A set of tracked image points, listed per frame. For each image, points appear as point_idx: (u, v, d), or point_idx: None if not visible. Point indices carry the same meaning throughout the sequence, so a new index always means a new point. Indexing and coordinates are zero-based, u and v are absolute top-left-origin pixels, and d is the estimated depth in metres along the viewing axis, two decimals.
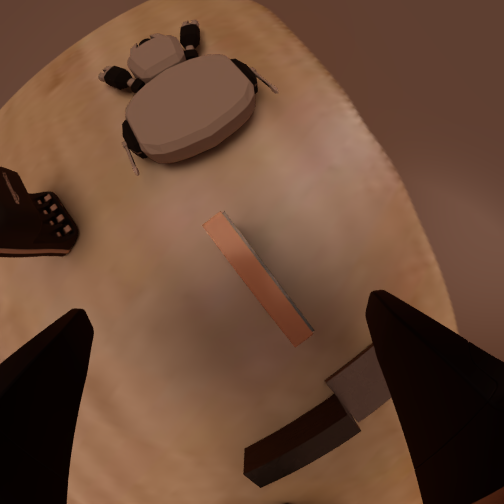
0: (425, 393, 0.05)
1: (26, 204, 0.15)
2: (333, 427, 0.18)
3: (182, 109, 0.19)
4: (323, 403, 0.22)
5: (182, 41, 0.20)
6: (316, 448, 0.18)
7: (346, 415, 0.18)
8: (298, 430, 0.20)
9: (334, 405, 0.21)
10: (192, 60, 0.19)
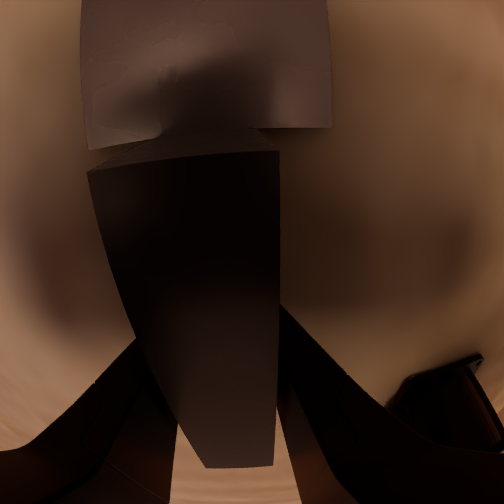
0: (292, 425, 0.05)
1: None
2: (130, 273, 0.04)
3: None
4: None
5: None
6: (214, 368, 0.05)
7: (90, 179, 0.03)
8: None
9: None
10: None
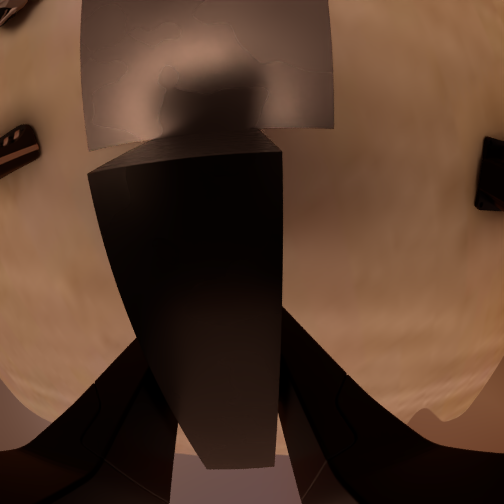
0: (292, 425, 0.05)
1: None
2: (131, 275, 0.04)
3: None
4: None
5: None
6: (216, 370, 0.05)
7: (90, 181, 0.03)
8: None
9: None
10: None
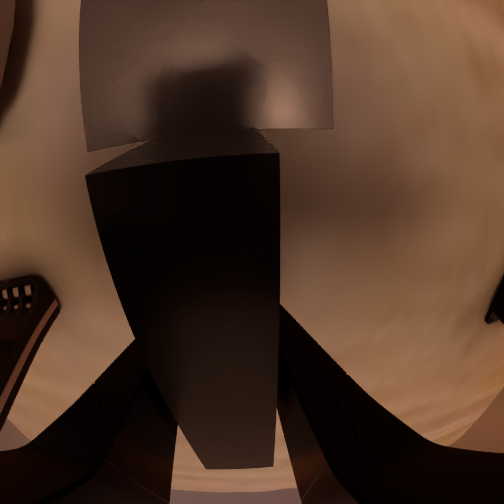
0: (292, 424, 0.05)
1: None
2: (130, 276, 0.04)
3: None
4: None
5: None
6: (214, 370, 0.05)
7: (88, 182, 0.03)
8: None
9: None
10: None
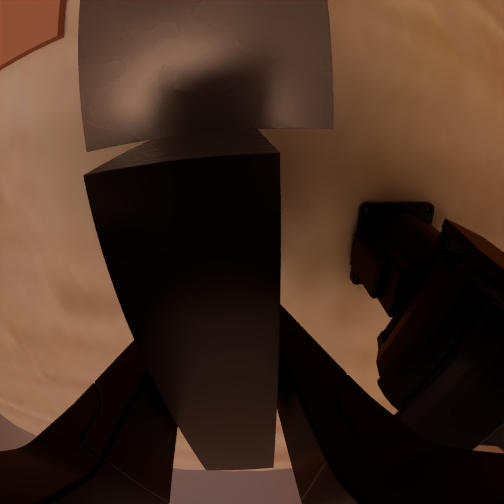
0: (292, 424, 0.05)
1: None
2: (128, 277, 0.04)
3: None
4: None
5: None
6: (214, 372, 0.05)
7: (87, 182, 0.03)
8: None
9: None
10: None
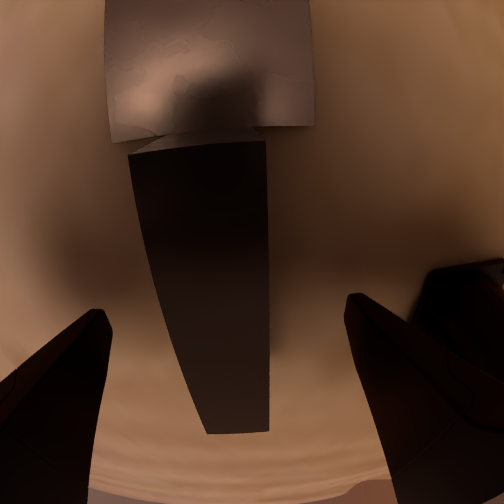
0: (399, 402, 0.05)
1: None
2: (156, 231, 0.05)
3: None
4: None
5: None
6: (217, 315, 0.06)
7: (130, 160, 0.05)
8: None
9: None
10: None
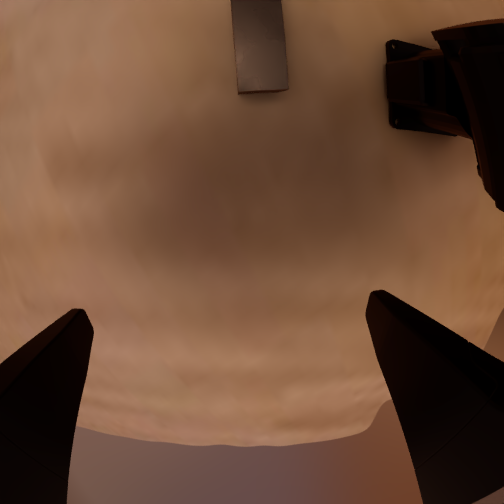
0: (425, 393, 0.05)
1: None
2: None
3: None
4: None
5: None
6: None
7: None
8: None
9: None
10: None
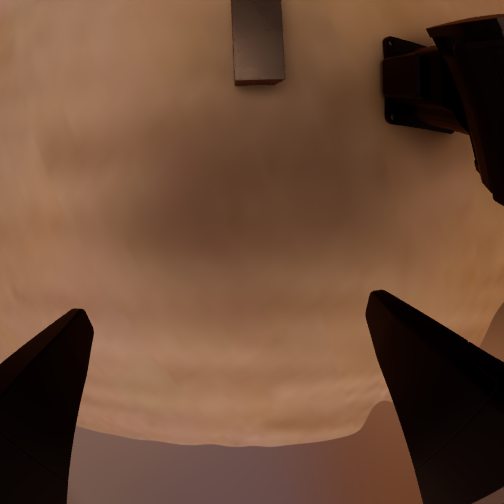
0: (425, 393, 0.05)
1: None
2: None
3: None
4: None
5: None
6: None
7: None
8: None
9: None
10: None
